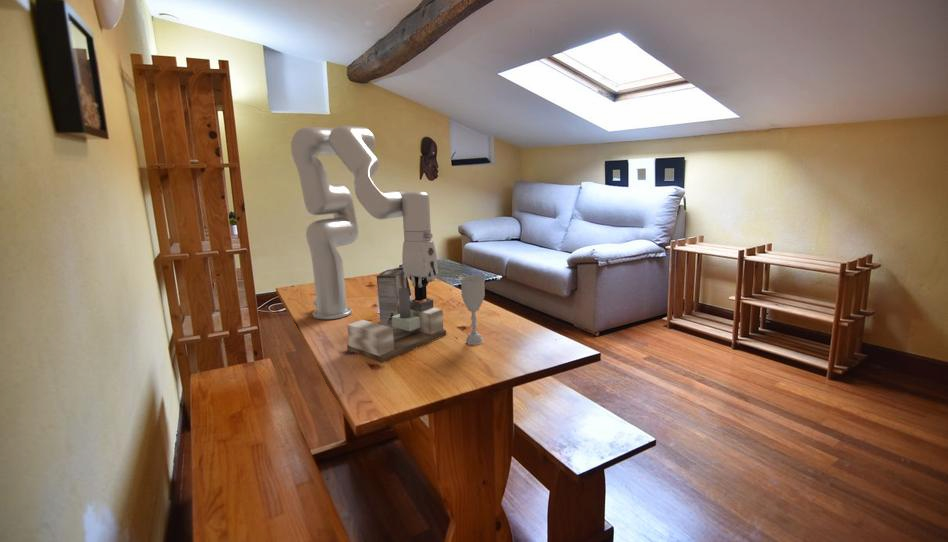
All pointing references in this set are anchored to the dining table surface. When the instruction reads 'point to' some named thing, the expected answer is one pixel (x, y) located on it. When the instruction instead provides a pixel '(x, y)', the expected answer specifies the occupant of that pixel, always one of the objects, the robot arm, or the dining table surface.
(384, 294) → the coffee box
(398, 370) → the dining table surface
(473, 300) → the chalice
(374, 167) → the robot arm
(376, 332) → the rail bed
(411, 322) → the carriage
